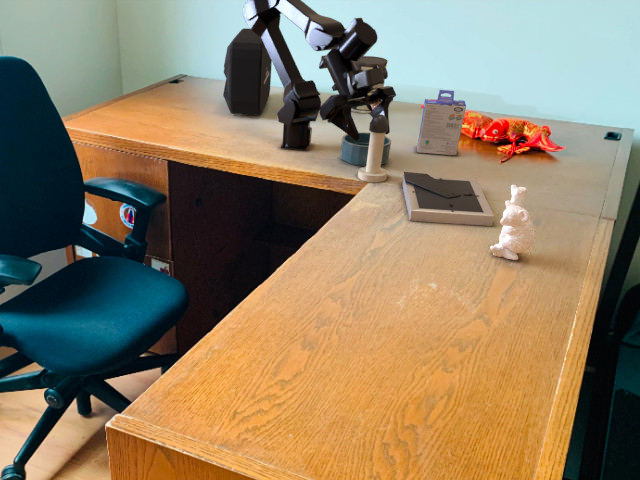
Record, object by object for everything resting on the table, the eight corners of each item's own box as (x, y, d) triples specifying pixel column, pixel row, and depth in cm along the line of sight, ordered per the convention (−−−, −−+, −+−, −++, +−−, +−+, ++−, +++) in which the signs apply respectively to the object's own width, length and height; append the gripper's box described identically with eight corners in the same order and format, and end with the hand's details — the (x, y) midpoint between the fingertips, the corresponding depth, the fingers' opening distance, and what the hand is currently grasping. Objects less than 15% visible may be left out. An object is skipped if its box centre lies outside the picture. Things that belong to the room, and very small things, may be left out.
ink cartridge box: (455, 149, 170) (467, 90, 162) (457, 156, 165) (469, 95, 157) (416, 146, 171) (426, 87, 163) (416, 153, 167) (426, 93, 159)
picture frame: (401, 183, 148) (409, 220, 131) (403, 171, 146) (412, 207, 129) (474, 188, 147) (491, 226, 129) (476, 175, 145) (495, 212, 128)
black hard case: (260, 120, 189) (262, 44, 178) (217, 117, 190) (217, 42, 179) (270, 95, 214) (273, 27, 203) (233, 93, 215) (233, 25, 204)
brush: (353, 178, 150) (360, 115, 142) (364, 170, 155) (371, 109, 147) (380, 184, 148) (389, 120, 140) (390, 176, 152) (399, 113, 144)
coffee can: (340, 109, 201) (345, 59, 193) (356, 103, 208) (362, 54, 200) (371, 115, 196) (378, 64, 188) (386, 108, 203) (393, 59, 195)
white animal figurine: (482, 243, 123) (497, 180, 116) (520, 246, 122) (537, 183, 115) (491, 264, 116) (508, 198, 109) (531, 267, 115) (550, 201, 108)
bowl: (337, 165, 158) (339, 144, 155) (343, 150, 167) (345, 130, 165) (386, 170, 156) (389, 148, 153) (389, 155, 165) (392, 134, 162)
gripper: (333, 55, 137) (364, 123, 135) (396, 47, 146) (426, 110, 145) (305, 87, 146) (334, 150, 145) (366, 77, 155) (394, 137, 154)
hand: (373, 136), depth 147 cm, fingers open, 9 cm apart
